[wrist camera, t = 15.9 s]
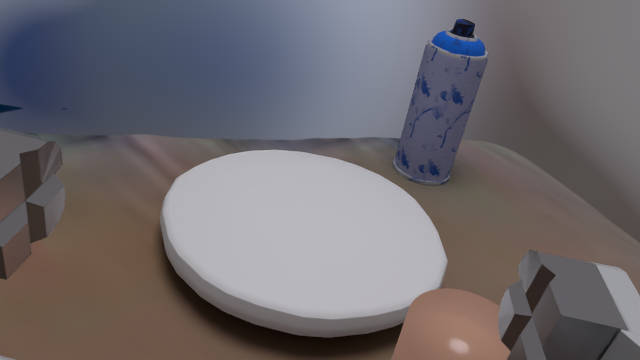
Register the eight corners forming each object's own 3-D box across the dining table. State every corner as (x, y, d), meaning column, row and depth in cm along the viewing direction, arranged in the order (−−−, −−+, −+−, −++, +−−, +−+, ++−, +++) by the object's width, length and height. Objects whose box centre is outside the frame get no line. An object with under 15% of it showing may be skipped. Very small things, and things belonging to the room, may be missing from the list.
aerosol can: (460, 183, 70) (513, 34, 60) (409, 186, 67) (455, 30, 57) (431, 154, 76) (474, 14, 66) (382, 155, 74) (420, 9, 63)
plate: (124, 156, 54) (340, 130, 68) (126, 212, 57) (334, 176, 71) (241, 329, 33) (517, 242, 47) (236, 404, 36) (498, 300, 50)
